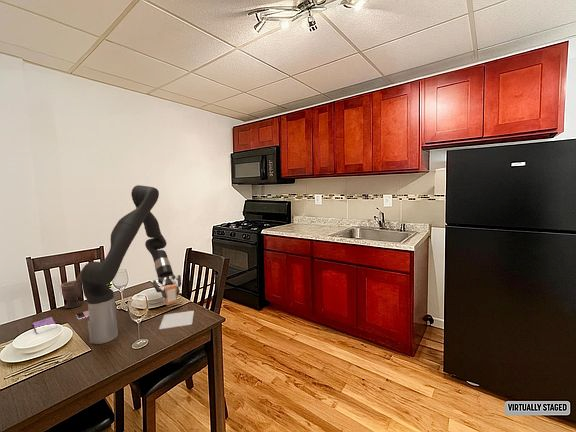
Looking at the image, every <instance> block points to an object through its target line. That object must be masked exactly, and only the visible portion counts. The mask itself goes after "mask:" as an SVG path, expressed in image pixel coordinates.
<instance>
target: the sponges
mask: <svg viewBox="0 0 576 432" xmlns="http://www.w3.org/2000/svg"><path fill="white" fill-rule="evenodd" d="M48 324H56V322H55V321H54V318H53V317H52V316H50V317H47V318H44V319H41V320H38V321H35V322H32V326H33V325H34V326H33V328H34V329H35V328H36V327H39V326H43V325H48Z"/></svg>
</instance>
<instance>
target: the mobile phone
mask: <svg viewBox="0 0 576 432" xmlns="http://www.w3.org/2000/svg"><path fill="white" fill-rule="evenodd" d="M75 316H77V317H76V318H77V320H82V318H83V319H86V318H89V317H88V316H89V310H86V311H82V312H79V313H76V314H75ZM85 317H86V318H85Z"/></svg>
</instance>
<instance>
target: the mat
mask: <svg viewBox="0 0 576 432" xmlns="http://www.w3.org/2000/svg"><path fill="white" fill-rule="evenodd" d="M194 314H195V310H190V311H189V310H188V311H182V312H174V313H168V314H164V315H163V317H162V320H161V323H160V325H159V328H158V330H160V331H162V330H168V329H173V328H181V327H187V326H192V325H193V320H194Z"/></svg>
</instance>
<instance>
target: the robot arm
mask: <svg viewBox="0 0 576 432" xmlns="http://www.w3.org/2000/svg"><path fill="white" fill-rule="evenodd" d="M159 192H160V191H159V189H158V188H156V187H154V186H149V185H140V184H139V185H138V184H137V185H135V186H134V187H133V188H132V190H131V193H130V194H131V200H132V201H133V204H134V207H135V209H133V210H132V211H130V212H128V213H127V214H125V215H123V216H122V217H121V218H120V219H119V220H118V221H117V222H116V224H115V226H114V227H113V229H112V231H111V233H110V248H109V251H108V253H107V255H106V256H105V258H104V259H103V260H102V261H90V262H88V263H85V265H84V266H83V267H82V269H81V270H82V272H81V271H80V272H81V280H80V281H81V288H82V291H83V295H84V297H85V298H86V302H87V309H88V310H89V317H88V318H89V320H88V321H87V329H88V337H89V344H95V345H99V344H105V343H109V342H111V341H113V340H114V339H116V338H117V337H118V336H119V329H118V321H117V311H116V303H115V301H116V300H115V293H114V290H113V289H112V288H110V287H109V286H108V284H110V283H112V281H114V279H115V278H116V275H117V274H118V271H119V269H120V267H121V265H122V262H123V260H124V257H125V256H126V254H127V252H128V250H129V247H130V246H131V244H132V242H133V241H134V239H135V237H136V236H137V234H138V232H139V230H140V228H141V227H142V224H143V226H144V229H145V234H146V237H148V239H147V240H146V241H145V243H144V245H145V248H146V250H147V251H148V252H149V253H150V255H151V257H152V259H153V260H152V261H153V262H154V264H153V265H154V268H155V269H154V270H155V272H156V277H157V278H158V279H157V280H155V279H154V280H153V281H152V285H153V287H154V289H155V291H156V293H161V295H162V298H164V299H165V298H166V297H167V296H166V293H165V290H164V287H165V286H169V285H174V284H175V285H177V296H179V295H180V292H181V290H180V288H181V286H182V276H181V274H179V275H175V274H174V271H173V268H172V265H171V262H170V260H169V257H168V255H167V252H166V250H164V249H165V248H166V247H167V240H166V239H165V237H164V236H163V234H162V232H161V229H160V225H159V221H158V219H157V218H156V216H155V215H154V214H153V213H152V212H151V211H152V210H153V208H154V207H155V205H156V204H157V202H158V199H159V196H160V193H159ZM175 280H176V281H177V282H176V281H175ZM159 284H160V285H161V287H160V286H159ZM88 310H87V311H88Z"/></svg>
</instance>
